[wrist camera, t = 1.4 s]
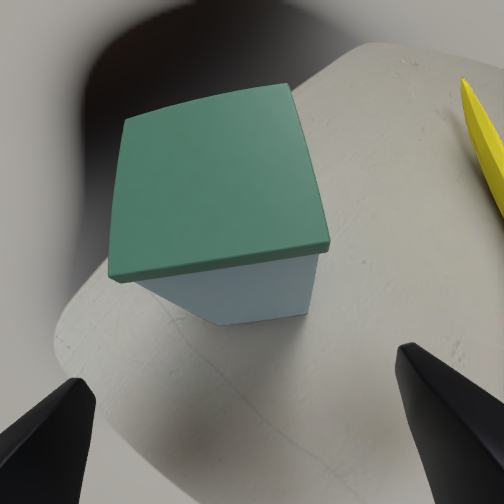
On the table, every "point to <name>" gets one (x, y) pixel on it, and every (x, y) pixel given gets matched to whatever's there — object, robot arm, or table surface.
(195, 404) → the table surface
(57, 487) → the robot arm
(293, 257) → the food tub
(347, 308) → the table surface
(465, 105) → the banana
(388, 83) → the table surface
